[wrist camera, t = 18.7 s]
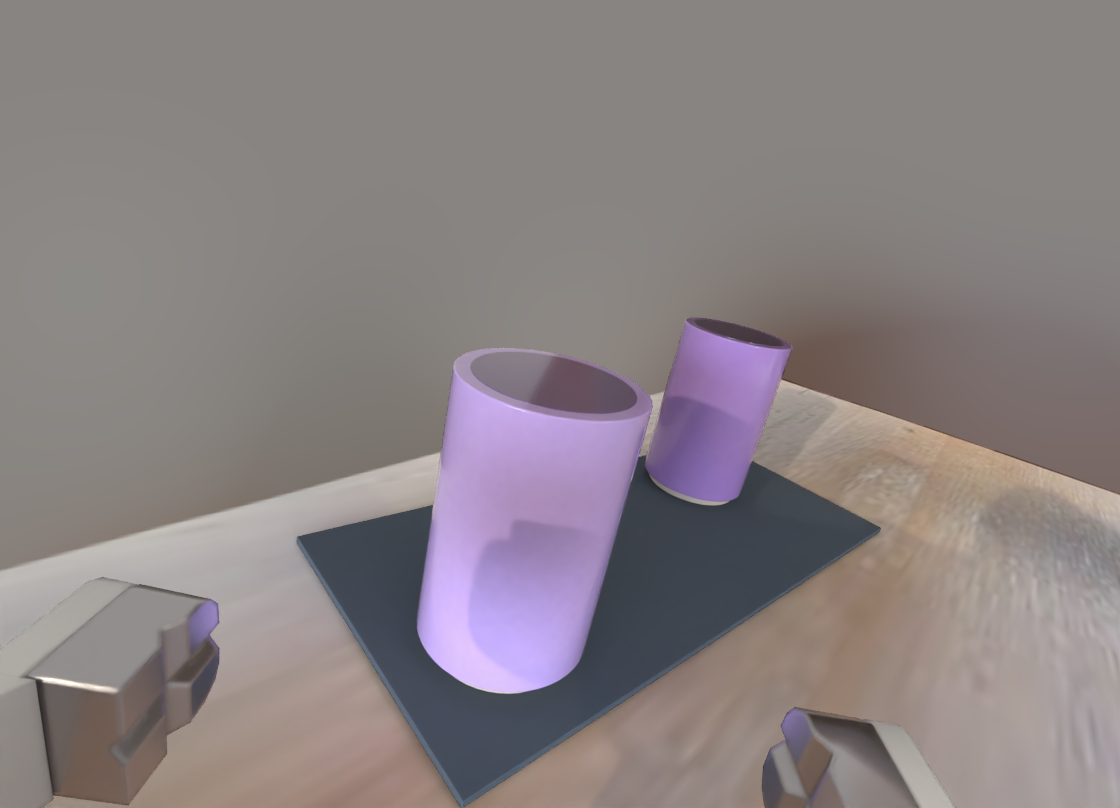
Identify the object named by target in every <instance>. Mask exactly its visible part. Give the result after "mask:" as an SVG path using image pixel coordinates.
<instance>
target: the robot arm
mask: <svg viewBox="0 0 1120 808" xmlns="http://www.w3.org/2000/svg"><path fill="white" fill-rule="evenodd" d="M218 624H219V611H218V603H216V602H215V601H213V600H211V599H207V598H203V597H198V596H193V595H189V594H184V593H179V592H174V591H170V590H165V589H160V588H156V587H151V586H146V585H141V584H139V585H137V584H133V583H128V582H123V581H119V580H114V579H109V578H105V577H101V578H98V579H95V580H91V581H88V582H87V583H85V584H84V585H83V586H81V587H80V588H79V589H77V590H76V591H75V592H74V593H72V594H71V595H70V596H68V597H67V598H66V599H65V600H63V601H62V602H61V603H59V604H58V605H57V606H55V607H54V608H53V609H52V610H50V611H49V612H48V613H46V614H45V615H44V616H43V617H41V618H40V619H39V620H37V621H36V622H35V623H34V624H32V625H31V626H30V627H28V628H27V629H26V630H24V631H23V632H22V633H21V634H19V635H18V636H17V637H15V638H14V639H13V640H12V641H10V642H9V643H8V644H6V645H5V646H4V647H2V648H1V649H0V808H42V807H44V806H45V805H47V804H48V803H50V802H51V801H52V800H53V799H54V798H53V795H55V796H63V797H70V798H77V799H84V800H92V801H99V802H106V803H114V804H121V805H129V804H130V803H131V801H132V800H133V798H134V797H135V796H136V794H137V793H138V792H139V790H140V789H141V788H142V786H143V785H144V784H145V782H146V781H147V780H148V778H149V777H150V776H151V774H152V773H153V772H154V770H155V769H156V768H157V766H158V765H159V764H160V762H161V761H162V760H163V758H164V757H165V756H166V754H167V735H169V734H170V733H172V732H174V731H176V730H177V729H179V728H181V727H183V726H185V725H186V724H188V723H190V722H191V721H192V719H193V718H194V716H195V715H196V714H197V712H198V711H199V709H200V708H201V707H202V705H203V704H204V702H205V700H206V698H207V696H208V694H209V692H210V690H211V687H212V685H213V683H214V681H215V678H216V674H217V669H218V665H219V647H218V646H217V645H216V643H215V642H214V641H213V639H212V638H211V637H210V635H209V634H210V633H211V632H212V631H213V630H214V628H215V627H216V626H217V625H218ZM781 728H782V731H783V734H784V736H785V740H783V741H782V742H780V743H779V744H777V745H775V746H774V747H772V748H770V750H769V753H768V755H767V758H766V760H765V763H764V765H763V776H762V793H763V801H764V806H765V808H955V806H954V805H953V803H952V801H951V800H950V798H949V797H948V795H947V793H946V792H945V790H944V789H943V787H942V785H941V784H940V782H939V781H938V779H937V777H936V776H935V774H934V772H933V771H932V769H931V768H930V766H929V764H928V763H927V761H926V760H925V758H924V756H923V755H922V753H921V752H920V750H919V748H918V747H917V745H916V744H915V742H914V740H913V739H912V737H911V736H910V734H909V733H908V732H907V731H906V730H904V729H903V728H902V727H901V726H900V725H896V724H890V723H885V722H879V721H873V720H867V719H862V720H861V719H859V718H855V717H849V716H843V715H838V714H832V713H826V712H820V711H815V710H809V709H803V708H798V707H794V708H793V709H791V710H790V711H789V712H788V713H787V714H786V716H785V718H784V720H783V722H782V724H781Z"/></svg>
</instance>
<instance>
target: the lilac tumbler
mask: <svg viewBox="0 0 1120 808" xmlns="http://www.w3.org/2000/svg"><path fill="white" fill-rule="evenodd" d="M652 407H653V406H652V400H651V398H650V396H649V395H648V393H647V392H646V391H645V390H644V389H643V388H641V387H640V386H639V385H637V384H636V383H634V382H633V381H631V380H630V379H628V378H626V377H624V376H622V375H620V374H618V373H616V372H614V371H612V370H609V369H607V368H604V367H602V366H599V365H596V364H593V363H589V362H587V361H583V360H580V359H576V358H573V357H569V356H564V355H560V354H555V353H550V352H543V351H537V350H529V349H519V348H489V349H481V350H475V351H471V352H468V353H465V354H463V355H461V356H460V357H459V358H457V359H456V361H455V363H454V365H453V372H452V378H451V385H450V393H449V399H448V406H447V413H446V420H445V427H444V433H443V440H442V447H441V454H440V461H439V468H438V475H437V482H436V488H435V495H434V502H433V509H432V516H431V523H430V530H429V537H428V543H427V550H426V557H425V564H424V571H423V578H422V585H421V591H420V598H419V605H418V612H417V630H418V635H419V638H420V640H421V642H422V645H423V647H424V648H425V650H426V652H427V653H428V655H429V656H430V657H431V658H432V659H433V660H434V662H435V663H436V664H438V665H439V666H440V667H441V668H442V669H443V670H445V671H446V672H447V673H449V674H450V675H451V676H453V677H454V678H456V679H457V680H459V681H461V682H463V683H465V684H466V685H469V686H471V687H474V688H476V689H480V690H484V691H487V692H494V693H504V694H512V693H522V692H527V691H531V690H537V689H540V688H543V687H546V686H549V685H551V684H553V683H555V682H557V681H559V680H560V679H562V678H563V677H565V676H566V675H567V674H568V673H570V672H571V671H572V670H573V669H574V668H575V666H576V665H577V664H578V662H579V661H580V659H581V657H582V655H583V653H584V650H585V646H586V643H587V639H588V636H589V632H590V629H591V625H592V621H593V618H594V614H595V611H596V607H597V604H598V600H599V596H600V593H601V589H602V586H603V582H604V579H605V575H606V571H607V568H608V564H609V561H610V557H611V554H612V550H613V546H614V543H615V539H616V536H617V532H618V529H619V525H620V521H621V518H622V514H623V511H624V507H625V504H626V500H627V496H628V493H629V489H630V486H631V482H632V479H633V475H634V471H635V468H636V464H637V461H638V457H639V454H640V450H641V446H642V443H643V439H644V436H645V432H646V429H647V425H648V421H649V418H650V414H651V411H652Z"/></svg>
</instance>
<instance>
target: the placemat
mask: <svg viewBox="0 0 1120 808" xmlns="http://www.w3.org/2000/svg"><path fill="white" fill-rule="evenodd" d="M646 456H647V455H646ZM646 456H642V457H638V461H637V464H636V468H635V471H634V475H633V479H632V482H631V486H630V489H629V493H628V496H627V500H626V504H625V507H624V511H623V514H622V518H621V521H620V525H619V529H618V532H617V536H616V539H615V543H614V546H613V550H612V554H611V557H610V561H609V564H608V568H607V571H606V575H605V579H604V582H603V586H602V589H601V593H600V596H599V600H598V604H597V607H596V611H595V614H594V618H593V621H592V625H591V629H590V632H589V636H588V639H587V643H586V646H585V650H584V653H583V655H582V657H581V659H580V661H579V662H578V664H577V665H576V666H575V668H574V669H573V670H572V671H571V672H570V673H568V674H567V675H566V676H565V677H563V678H562V679H560V680H559V681H557V682H555V683H553V684H551V685H549V686H546V687H543V688H540V689H537V690H531V691H527V692H522V693H512V694H504V693H494V692H487V691H484V690H480V689H476V688H474V687H471V686H469V685H466V684H465V683H463V682H461V681H459V680H457V679H456V678H454V677H453V676H451V675H450V674H449V673H447V672H446V671H445V670H443V669H442V668H441V667H440V666H439V665H438V664H436V663H435V662H434V660H433V659H432V658H431V657H430V656H429V655H428V653H427V652H426V650H425V648H424V647H423V645H422V642H421V640H420V638H419V635H418V630H417V612H418V605H419V598H420V591H421V585H422V578H423V571H424V564H425V557H426V550H427V543H428V537H429V530H430V523H431V516H432V509H433V505H431V506H427V507H423V508H419V509H414V510H410V511H406V512H401V513H397V514H393V515H388V516H384V517H380V518H376V519H371V520H367V521H363V522H358V523H354V524H350V525H345V526H341V527H337V528H333V529H328V530H324V531H320V532H315V533H311V534H307V535H303V536H298V537H297V543H298V545H299V547H300V548H301V550H302V552H303V553H304V555H305V556H306V558H307V560H308V561H309V563H310V564H311V566H312V568H313V569H314V571H315V573H316V574H317V576H318V577H319V579H320V581H321V582H322V584H323V585H324V587H325V589H326V590H327V592H328V594H329V595H330V597H331V598H332V600H333V602H334V603H335V605H336V606H337V608H338V610H339V611H340V613H341V615H342V616H343V618H344V619H345V621H346V623H347V624H348V626H349V627H350V629H351V631H352V632H353V634H354V636H355V637H356V639H357V640H358V642H359V644H360V645H361V647H362V648H363V650H364V652H365V653H366V655H367V657H368V658H369V660H370V661H371V663H372V665H373V666H374V668H375V669H376V671H377V673H378V674H379V676H380V678H381V679H382V681H383V682H384V684H385V686H386V687H387V689H388V690H389V692H390V694H391V695H392V697H393V699H394V700H395V702H396V703H397V705H398V707H399V708H400V710H401V711H402V713H403V715H404V716H405V718H406V719H407V721H408V723H409V724H410V726H411V728H412V729H413V731H414V732H415V734H416V736H417V737H418V739H419V740H420V742H421V744H422V745H423V747H424V749H425V750H426V752H427V753H428V755H429V757H430V758H431V760H432V761H433V763H434V765H435V766H436V768H437V770H438V771H439V773H440V774H441V776H442V778H443V779H444V781H445V782H446V784H447V786H448V787H449V789H450V791H451V792H452V794H453V795H454V797H455V799H456V800H457V802H458V803H459V805H460V807H461V808H463V807H465V806H466V805H468V804H469V803H471V802H472V801H474V800H475V799H477V798H478V797H480V796H481V795H483V794H484V793H486V792H487V791H489V790H490V789H492V788H493V787H495V786H496V785H498V784H499V783H501V782H502V781H504V780H505V779H507V778H509V777H510V776H512V775H513V774H515V773H516V772H518V771H519V770H521V769H522V768H524V767H525V766H527V765H528V764H530V763H531V762H533V761H534V760H536V759H537V758H539V757H540V756H542V755H543V754H545V753H546V752H548V751H549V750H551V749H552V748H554V747H555V746H557V745H558V744H560V743H561V742H563V741H564V740H566V739H567V738H569V737H570V736H572V735H573V734H575V733H576V732H578V731H579V730H581V729H582V728H584V727H585V726H587V725H588V724H590V723H592V722H593V721H595V720H596V719H598V718H599V717H601V716H602V715H604V714H605V713H607V712H608V711H610V710H611V709H613V708H614V707H616V706H617V705H619V704H620V703H622V702H623V701H625V700H626V699H628V698H629V697H631V696H632V695H634V694H635V693H637V692H638V691H640V690H641V689H643V688H644V687H646V686H647V685H649V684H650V683H652V682H653V681H655V680H656V679H658V678H659V677H661V676H662V675H664V674H665V673H667V672H668V671H670V670H671V669H673V668H674V667H676V666H678V665H679V664H681V663H682V662H684V661H685V660H687V659H688V658H690V657H691V656H693V655H694V654H696V653H697V652H699V651H700V650H702V649H703V648H705V647H706V646H708V645H709V644H711V643H712V642H714V641H715V640H717V639H718V638H720V637H721V636H723V635H724V634H726V633H727V632H729V631H730V630H732V629H733V628H735V627H736V626H738V625H739V624H741V623H742V622H744V621H745V620H747V619H748V618H750V617H751V616H753V615H754V614H756V613H757V612H759V611H761V610H762V609H764V608H765V607H767V606H768V605H770V604H771V603H773V602H774V601H776V600H777V599H779V598H780V597H782V596H783V595H785V594H786V593H788V592H789V591H791V590H792V589H794V588H795V587H797V586H798V585H800V584H801V583H803V582H804V581H806V580H807V579H809V578H810V577H812V576H813V575H815V574H816V573H818V572H819V571H821V570H822V569H824V568H825V567H827V566H828V565H830V564H831V563H833V562H834V561H836V560H837V559H839V558H840V557H842V556H844V555H845V554H847V553H848V552H850V551H851V550H853V549H854V548H856V547H857V546H859V545H860V544H862V543H863V542H865V541H866V540H868V539H869V538H871V537H872V536H874V535H875V534H877V533H878V532H880V529H881V528H880V527H878V526H876V525H874V524H872V523H870V522H868V521H866V520H864V519H863V518H861V517H859V516H857V515H855V514H853V513H851V512H849V511H847V510H845V509H843V508H841V507H839V506H838V505H836V504H834V503H832V502H830V501H828V500H826V499H824V498H822V497H820V496H818V495H816V494H815V493H813V492H811V491H809V490H807V489H805V488H803V487H801V486H799V485H797V484H795V483H793V482H791V481H790V480H788V479H786V478H784V477H782V476H780V475H778V474H776V473H774V472H772V471H770V470H768V469H766V468H765V467H763V466H761V465H759V464H757V463H755V462H753V461H752V463H751V466H750V469H749V472H748V474H747V477H746V480H745V483H744V486H743V488H742V491H741V494H740V495H739V496H738V497H737V498H735V499H733V500H730V501H729V502H727V503H725V504H722V505H702V504H696V503H692V502H689V501H685V500H683V499H680V498H678V497H675V496H673V495H671V494H669V493H667V492H666V491H664V490H663V489H661V488H660V487H658V486H657V485H656V484H655V483H654V482H653V481H652V479H651V478H650V476H649V473H648V471H647V470H646V467H645V459H646Z"/></svg>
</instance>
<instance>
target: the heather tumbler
mask: <svg viewBox="0 0 1120 808" xmlns="http://www.w3.org/2000/svg"><path fill="white" fill-rule="evenodd" d="M791 351H792V346H791V345H790V344H789V343H787V342H786V341H784V340H782V339H780V338H777V337H775V336H772V335H770V334H767V333H764V332H761V331H758V330H755V329H751V328H748V327H745V326H741V325H737V324H733V323H729V322H724V321H719V320H713V319H706V318H688V319H686V320H685V323H684V326H683V329H682V333H681V336H680V340H679V343H678V347H677V351H676V354H675V357H674V361H673V364H672V368H671V371H670V375H669V379H668V382H667V386H666V389H665V392H664V396H663V400H662V403H661V407H660V410H659V414H658V417H657V421H656V424H655V428H654V431H653V435H652V438H651V442H650V445H649V449H648V452H647V456H646V459H645V467H646V470H647V471H648V473H649V476H650V478H651V479H652V481H653V482H654V483H655V484H656V485H657V486H658V487H660V488H661V489H663V490H664V491H666V492H667V493H669V494H671V495H673V496H675V497H678V498H680V499H683V500H685V501H689V502H692V503H696V504H702V505H722V504H725V503H727V502H729V501H730V500H733V499H735V498H737V497H738V496H739V495H740V494H741V491H742V488H743V486H744V483H745V480H746V477H747V474H748V472H749V469H750V466H751V463H752V460H753V458H754V455H755V452H756V449H757V446H758V444H759V441H760V438H761V435H762V432H763V430H764V427H765V424H766V421H767V418H768V416H769V413H770V410H771V407H772V405H773V402H774V399H775V396H776V393H777V391H778V388H779V385H780V382H781V379H782V376H783V374H784V371H785V368H786V365H787V363H788V360H789V357H790V354H791Z"/></svg>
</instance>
